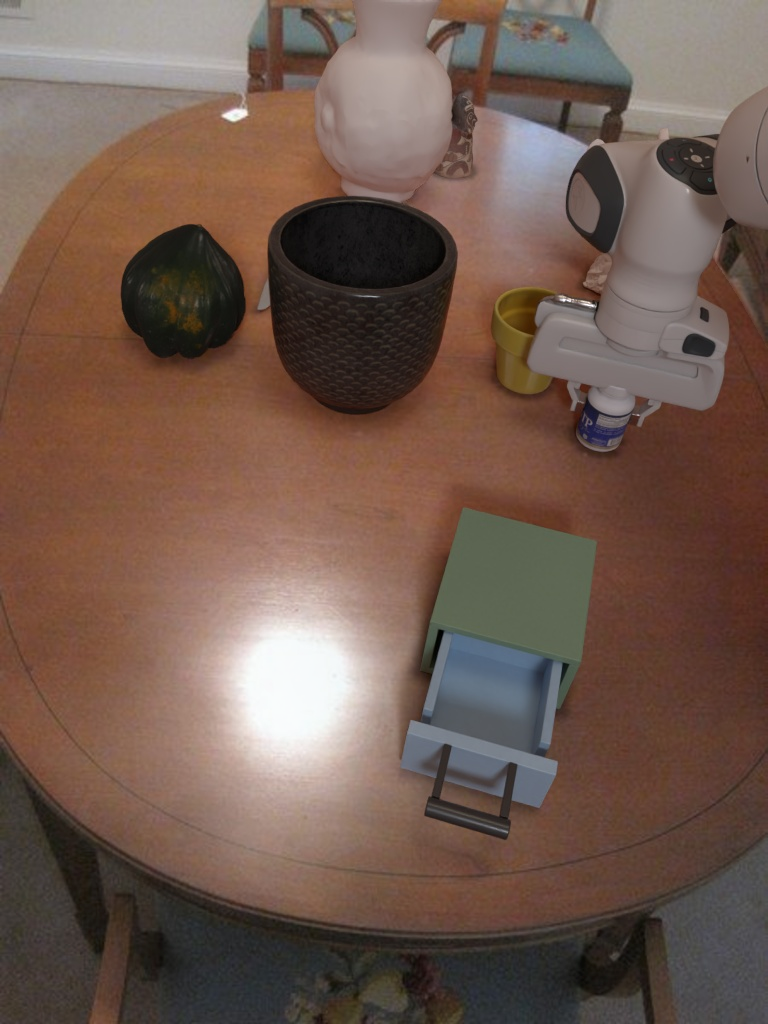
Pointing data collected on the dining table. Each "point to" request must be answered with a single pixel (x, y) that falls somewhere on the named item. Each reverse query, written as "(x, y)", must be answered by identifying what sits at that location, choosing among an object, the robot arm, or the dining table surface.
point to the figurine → (459, 140)
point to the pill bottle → (604, 418)
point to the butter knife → (264, 297)
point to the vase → (385, 102)
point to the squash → (183, 293)
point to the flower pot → (517, 338)
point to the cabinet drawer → (485, 729)
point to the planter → (359, 298)
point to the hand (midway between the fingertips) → (605, 415)
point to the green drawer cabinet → (515, 591)
